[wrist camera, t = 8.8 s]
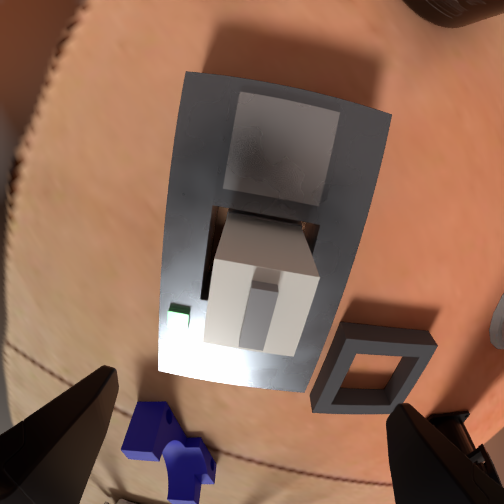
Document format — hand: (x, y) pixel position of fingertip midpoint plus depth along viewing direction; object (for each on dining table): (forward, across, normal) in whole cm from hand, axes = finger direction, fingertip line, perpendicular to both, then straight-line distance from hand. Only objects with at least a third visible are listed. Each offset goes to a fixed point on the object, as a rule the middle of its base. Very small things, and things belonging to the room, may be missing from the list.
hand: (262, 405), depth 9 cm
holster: (+12, -11, +8) cm, 18 cm away
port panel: (+12, 0, 0) cm, 12 cm away
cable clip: (+13, +4, +22) cm, 26 cm away
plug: (+12, 0, 0) cm, 12 cm away
